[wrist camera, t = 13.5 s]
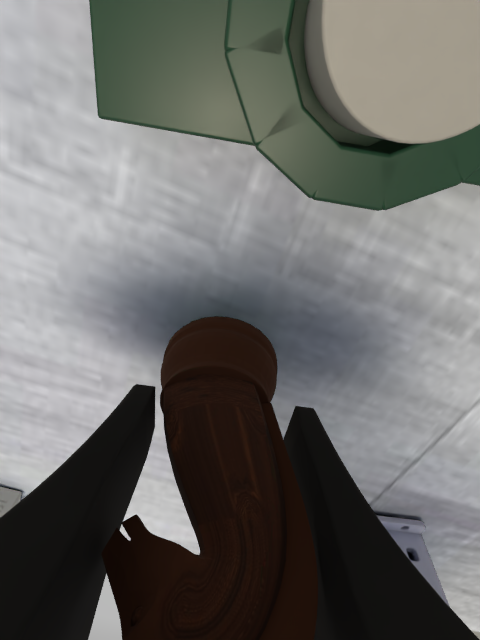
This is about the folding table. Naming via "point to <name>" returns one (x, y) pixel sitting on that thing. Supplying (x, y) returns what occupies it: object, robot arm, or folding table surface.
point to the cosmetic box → (8, 499)
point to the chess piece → (221, 504)
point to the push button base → (257, 97)
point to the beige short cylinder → (396, 66)
